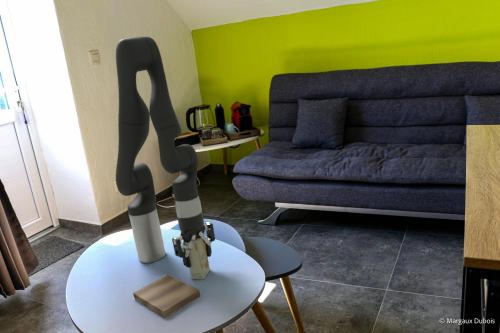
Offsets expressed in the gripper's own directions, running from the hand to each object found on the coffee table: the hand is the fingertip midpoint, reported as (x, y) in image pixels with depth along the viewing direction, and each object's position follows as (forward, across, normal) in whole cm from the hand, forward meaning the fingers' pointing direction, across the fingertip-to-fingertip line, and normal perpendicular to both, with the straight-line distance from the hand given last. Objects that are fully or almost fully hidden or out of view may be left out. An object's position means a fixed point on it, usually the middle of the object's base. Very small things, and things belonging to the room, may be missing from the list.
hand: (198, 261), depth 132 cm
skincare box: (+5, 0, 0) cm, 5 cm away
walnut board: (+4, +14, +2) cm, 15 cm away
